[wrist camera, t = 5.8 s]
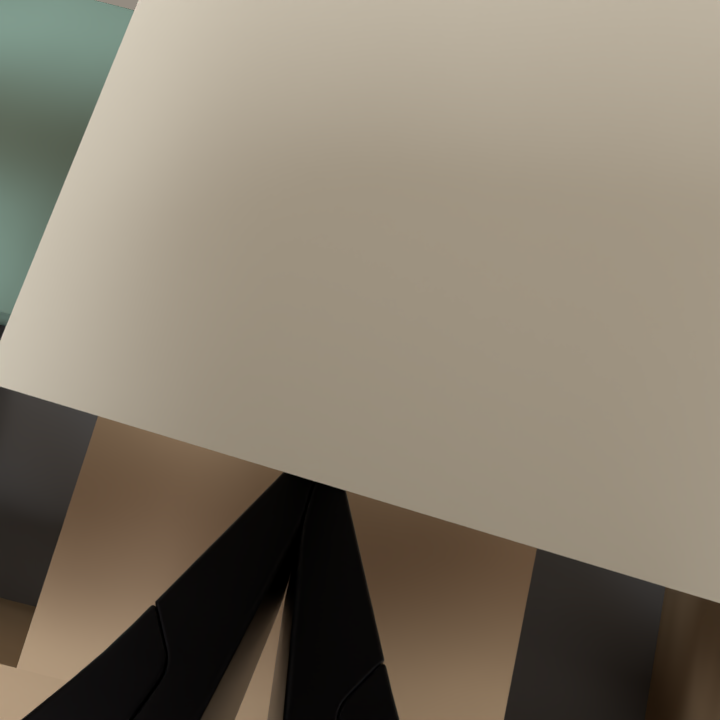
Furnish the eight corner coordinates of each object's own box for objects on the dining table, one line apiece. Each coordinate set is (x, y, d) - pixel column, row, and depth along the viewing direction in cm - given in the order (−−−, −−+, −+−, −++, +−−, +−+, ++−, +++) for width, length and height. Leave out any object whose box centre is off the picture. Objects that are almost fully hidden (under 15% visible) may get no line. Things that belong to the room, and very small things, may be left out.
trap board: (617, 1108, 15) (718, 1340, 11) (-244, 889, 15) (-450, 1042, 11) (745, 248, 19) (854, 193, 15) (59, 74, 19) (-15, -28, 15)
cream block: (497, 518, 13) (736, 608, 5) (192, 426, 13) (-17, 382, 5) (579, 190, 15) (868, -127, 7) (301, 107, 15) (261, -303, 7)
